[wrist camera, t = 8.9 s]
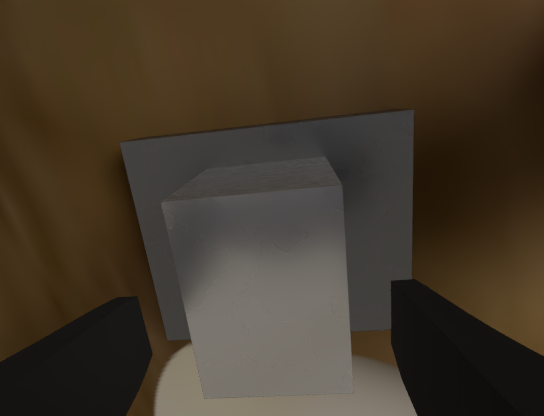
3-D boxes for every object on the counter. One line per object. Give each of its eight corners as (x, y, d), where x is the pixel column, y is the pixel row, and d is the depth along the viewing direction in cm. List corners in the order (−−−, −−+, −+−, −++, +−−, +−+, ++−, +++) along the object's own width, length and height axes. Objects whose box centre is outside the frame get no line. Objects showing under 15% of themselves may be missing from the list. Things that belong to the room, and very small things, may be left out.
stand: (398, 109, 15) (413, 109, 13) (398, 304, 18) (410, 328, 16) (140, 137, 16) (119, 142, 14) (180, 316, 19) (167, 340, 17)
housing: (335, 304, 15) (353, 393, 11) (231, 311, 16) (204, 398, 11) (325, 156, 13) (342, 184, 9) (206, 169, 14) (161, 202, 9)
